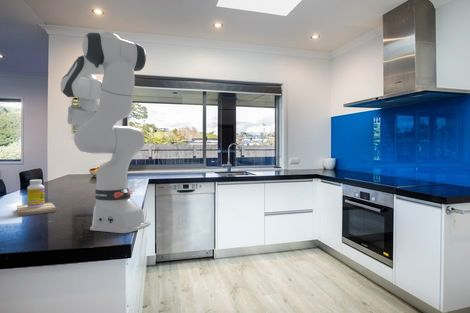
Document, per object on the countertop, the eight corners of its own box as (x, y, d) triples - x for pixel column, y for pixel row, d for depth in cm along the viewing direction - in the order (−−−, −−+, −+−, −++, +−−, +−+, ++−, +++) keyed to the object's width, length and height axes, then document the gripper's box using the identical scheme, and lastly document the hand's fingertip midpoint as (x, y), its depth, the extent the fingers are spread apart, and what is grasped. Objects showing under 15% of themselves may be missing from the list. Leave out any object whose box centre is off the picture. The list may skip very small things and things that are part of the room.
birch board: (55, 211, 131) (55, 207, 131) (18, 216, 122) (18, 211, 122) (51, 206, 143) (51, 202, 143) (17, 210, 134) (17, 205, 134)
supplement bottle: (42, 207, 130) (42, 180, 130) (25, 208, 128) (25, 181, 128) (46, 204, 137) (45, 179, 136) (30, 205, 134) (29, 179, 134)
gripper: (72, 104, 130) (73, 133, 131) (109, 109, 149) (109, 135, 149) (64, 105, 133) (64, 133, 133) (101, 110, 151) (101, 135, 152)
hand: (88, 134), depth 141 cm, fingers open, 8 cm apart
